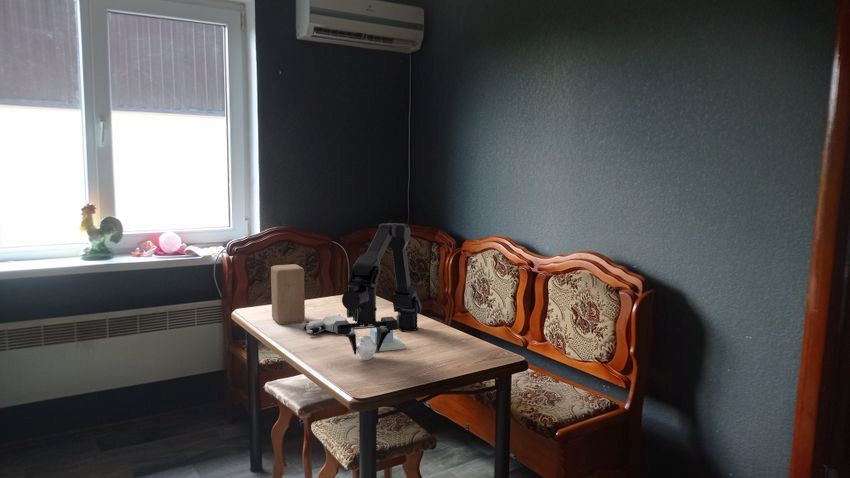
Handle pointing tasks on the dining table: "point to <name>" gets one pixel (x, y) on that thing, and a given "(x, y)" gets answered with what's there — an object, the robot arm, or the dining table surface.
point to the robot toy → (322, 324)
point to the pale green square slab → (391, 344)
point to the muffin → (366, 348)
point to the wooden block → (287, 293)
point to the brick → (387, 339)
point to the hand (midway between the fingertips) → (366, 353)
